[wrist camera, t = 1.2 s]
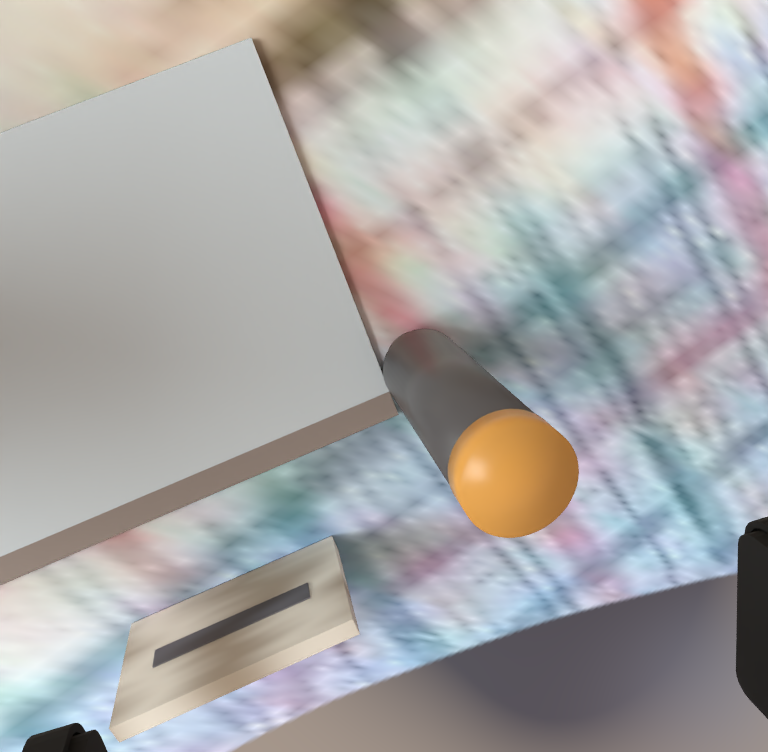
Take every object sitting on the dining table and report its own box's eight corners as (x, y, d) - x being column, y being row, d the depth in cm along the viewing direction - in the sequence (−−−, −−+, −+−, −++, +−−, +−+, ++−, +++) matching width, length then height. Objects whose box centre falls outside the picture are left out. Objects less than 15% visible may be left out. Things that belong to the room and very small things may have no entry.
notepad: (251, 38, 24) (251, 37, 24) (396, 411, 30) (398, 414, 30) (-296, 246, 23) (-304, 247, 23) (-30, 594, 29) (-33, 599, 29)
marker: (438, 308, 29) (561, 404, 18) (462, 378, 30) (590, 507, 20) (364, 339, 29) (444, 455, 18) (391, 408, 30) (481, 556, 19)
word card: (331, 534, 32) (352, 617, 26) (337, 548, 32) (359, 634, 26) (130, 622, 31) (107, 727, 25) (139, 636, 31) (119, 742, 26)
